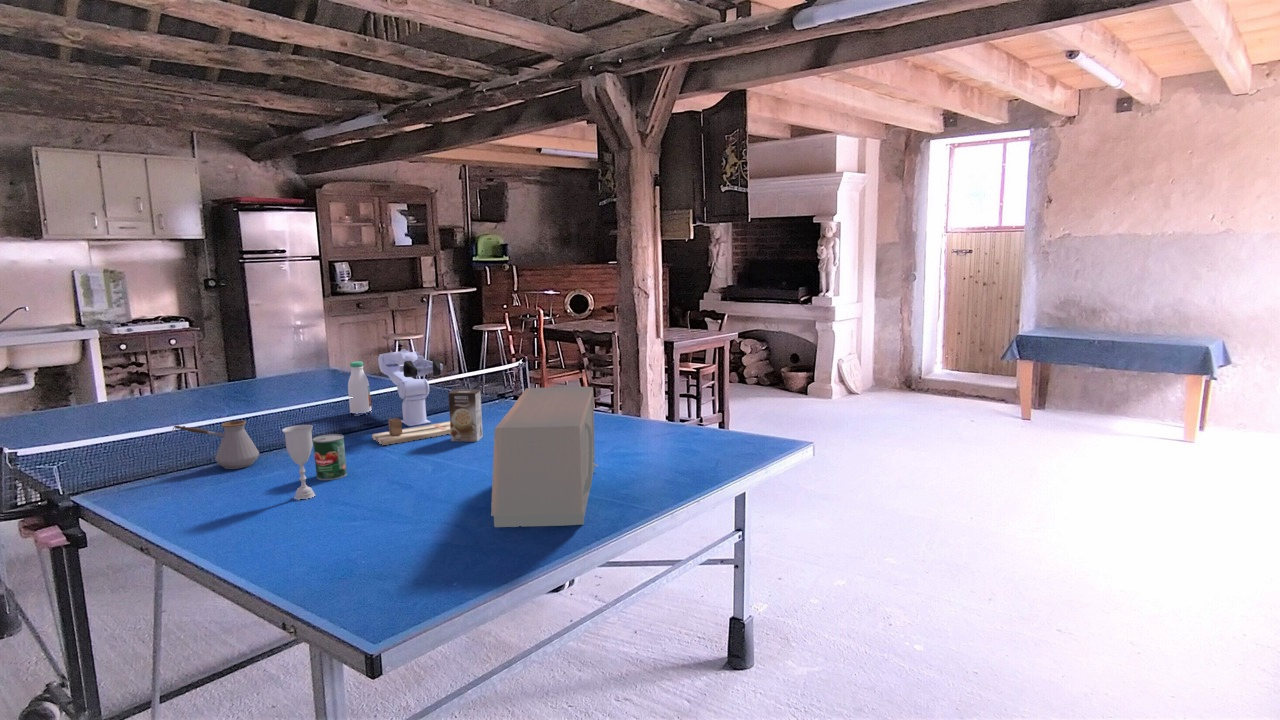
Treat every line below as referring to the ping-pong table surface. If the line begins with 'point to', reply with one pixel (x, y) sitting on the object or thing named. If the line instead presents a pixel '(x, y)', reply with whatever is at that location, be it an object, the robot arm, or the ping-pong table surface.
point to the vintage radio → (544, 458)
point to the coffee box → (465, 415)
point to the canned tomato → (330, 457)
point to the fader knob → (395, 426)
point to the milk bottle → (358, 389)
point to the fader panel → (414, 433)
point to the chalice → (300, 454)
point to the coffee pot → (232, 445)
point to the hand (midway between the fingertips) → (428, 372)
